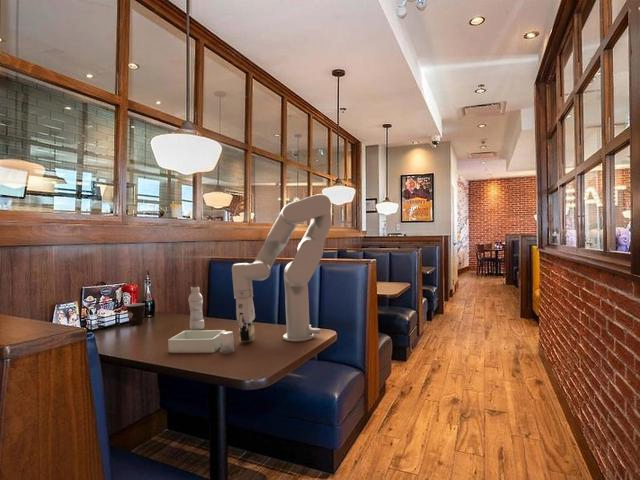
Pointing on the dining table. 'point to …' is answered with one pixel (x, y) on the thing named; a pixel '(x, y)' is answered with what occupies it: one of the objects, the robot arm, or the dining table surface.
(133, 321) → the coffee mug
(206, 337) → the tote
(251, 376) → the dining table surface
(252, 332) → the maple cube
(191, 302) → the plastic bottle
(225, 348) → the steel cylinder
